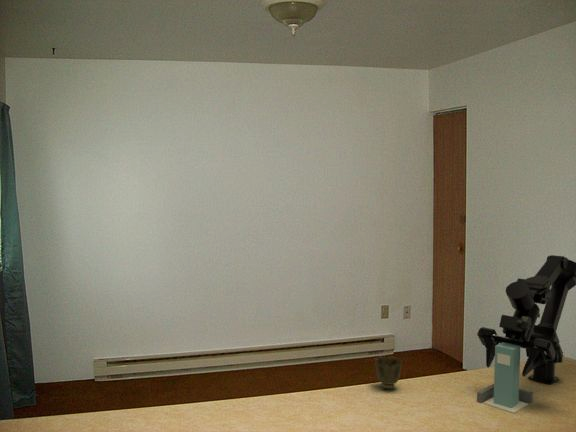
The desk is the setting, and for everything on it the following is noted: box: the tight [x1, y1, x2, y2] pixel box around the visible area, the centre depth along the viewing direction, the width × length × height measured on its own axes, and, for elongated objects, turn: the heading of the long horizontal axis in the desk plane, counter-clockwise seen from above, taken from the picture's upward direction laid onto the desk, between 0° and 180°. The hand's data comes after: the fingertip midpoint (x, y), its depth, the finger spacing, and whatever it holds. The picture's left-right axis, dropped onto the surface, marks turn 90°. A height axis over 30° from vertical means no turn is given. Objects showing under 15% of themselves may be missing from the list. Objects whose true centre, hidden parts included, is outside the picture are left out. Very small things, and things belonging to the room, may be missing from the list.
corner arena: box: [476, 383, 534, 414], centre depth 140 cm, size 11×10×2 cm
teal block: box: [493, 342, 521, 408], centre depth 138 cm, size 5×5×15 cm
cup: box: [374, 355, 403, 391], centre depth 148 cm, size 8×7×8 cm
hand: (504, 371), depth 137 cm, fingers open, 9 cm apart
